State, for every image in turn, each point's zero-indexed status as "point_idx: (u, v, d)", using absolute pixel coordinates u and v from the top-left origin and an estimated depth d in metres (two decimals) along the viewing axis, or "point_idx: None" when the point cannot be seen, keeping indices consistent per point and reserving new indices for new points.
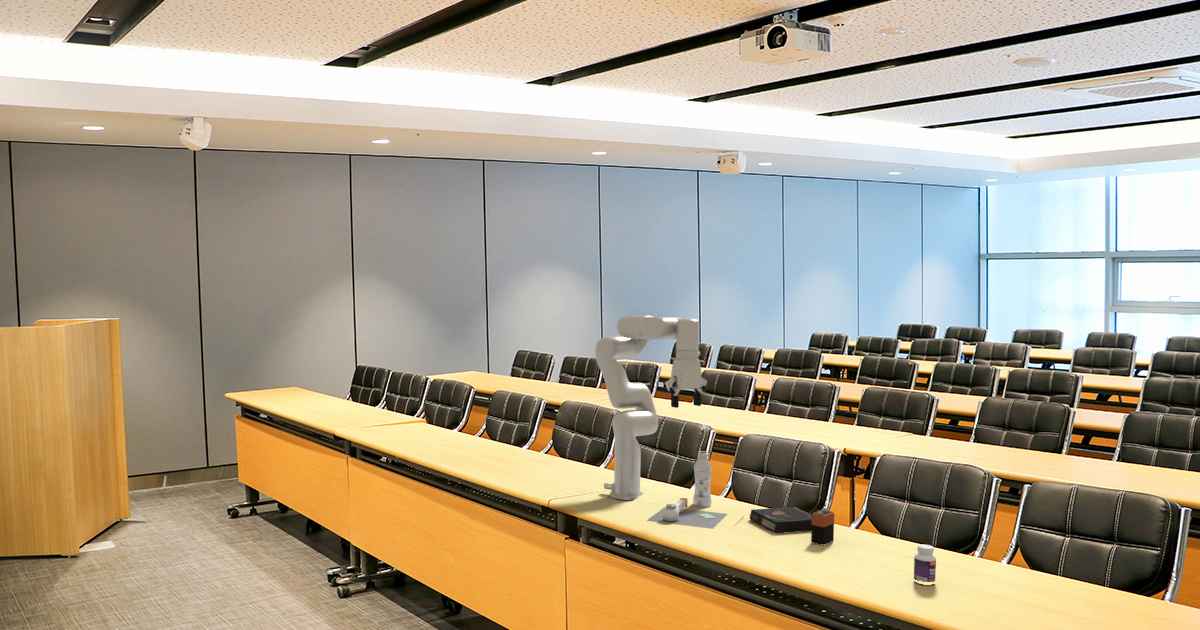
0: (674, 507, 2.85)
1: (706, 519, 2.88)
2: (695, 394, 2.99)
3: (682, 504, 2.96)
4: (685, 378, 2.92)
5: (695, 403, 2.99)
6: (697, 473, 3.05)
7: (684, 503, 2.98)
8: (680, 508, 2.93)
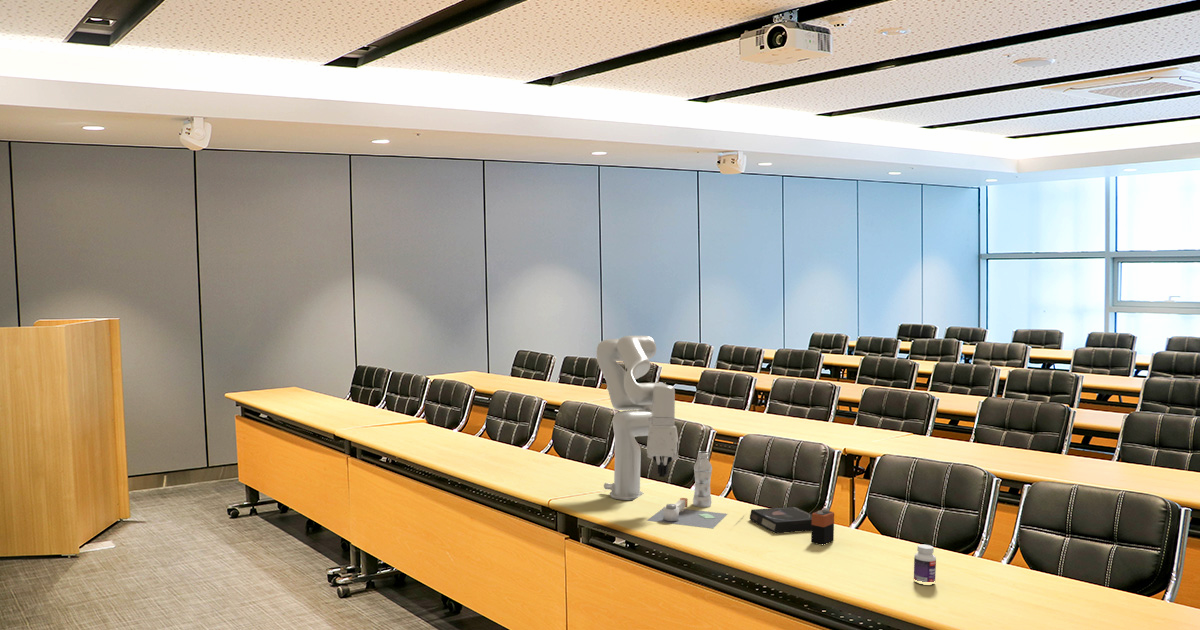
0: (674, 507, 2.85)
1: (706, 519, 2.88)
2: None
3: (682, 504, 2.96)
4: None
5: None
6: (697, 473, 3.05)
7: (684, 503, 2.98)
8: (680, 508, 2.93)
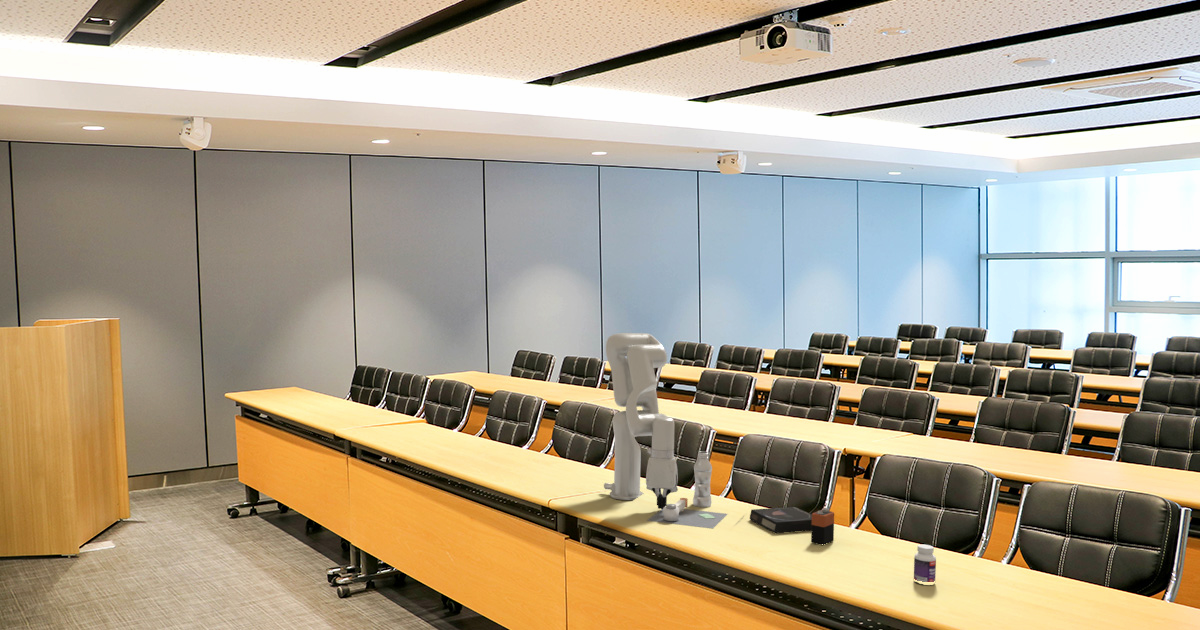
0: (674, 507, 2.85)
1: (706, 519, 2.88)
2: (660, 497, 2.98)
3: (682, 504, 2.96)
4: None
5: None
6: (697, 473, 3.05)
7: (684, 503, 2.98)
8: (680, 508, 2.93)
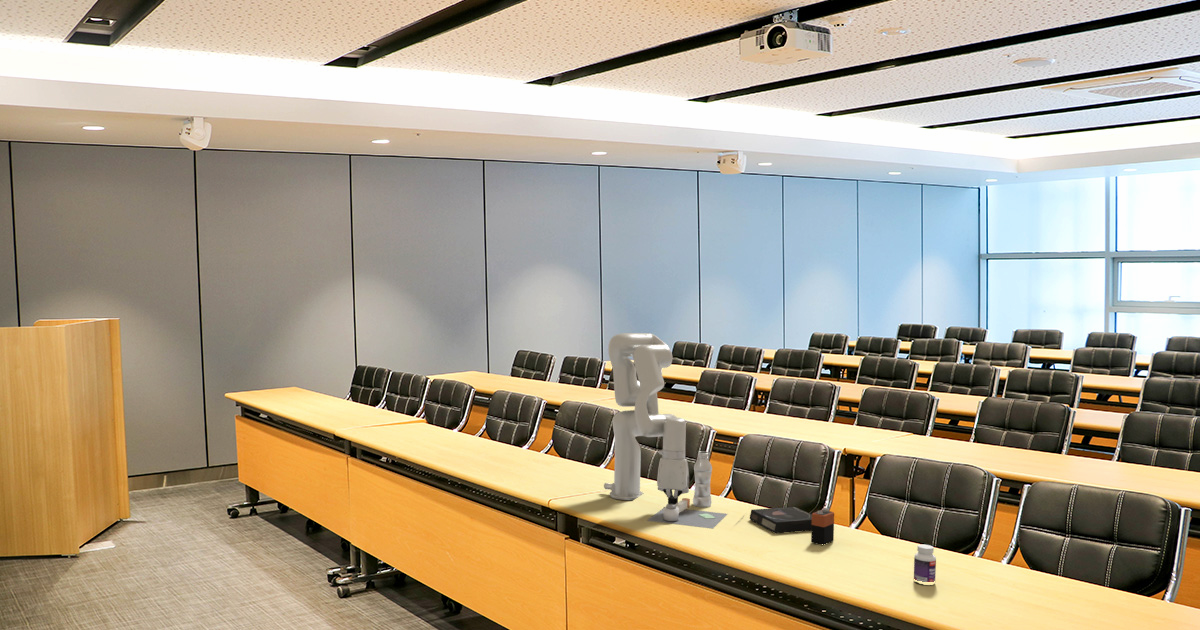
0: (674, 507, 2.85)
1: (706, 519, 2.88)
2: (672, 498, 2.96)
3: (684, 504, 2.95)
4: None
5: None
6: (697, 473, 3.05)
7: (686, 503, 2.97)
8: (681, 508, 2.93)
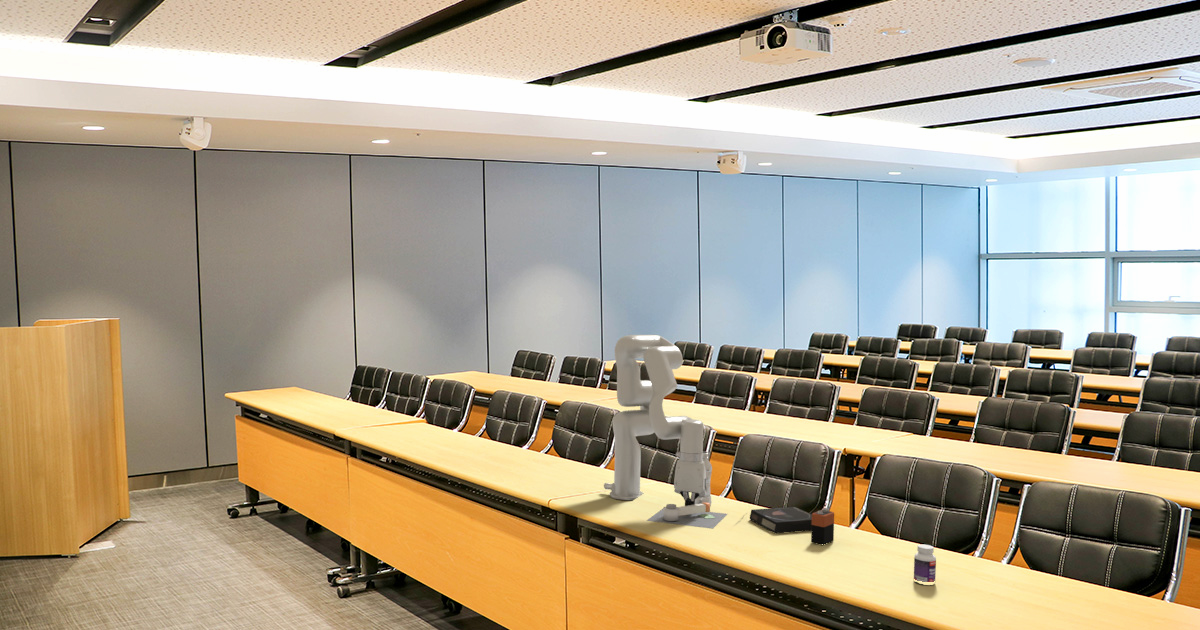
0: (671, 507, 2.85)
1: (706, 519, 2.88)
2: (688, 500, 2.94)
3: (697, 508, 2.91)
4: None
5: None
6: None
7: (702, 507, 2.92)
8: (691, 511, 2.90)
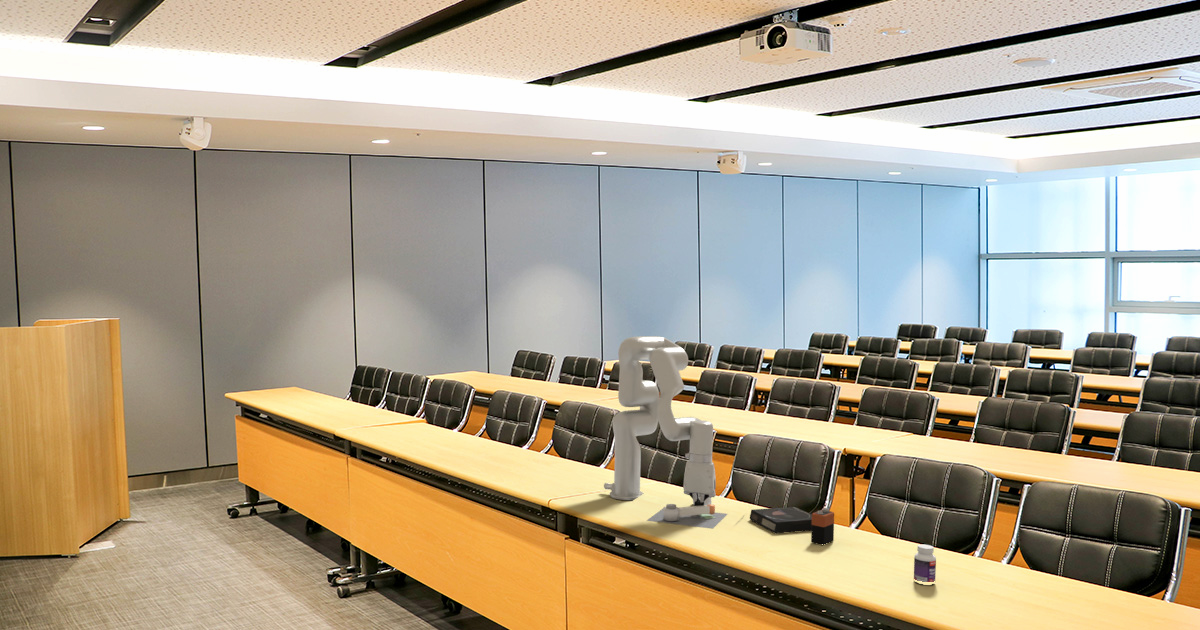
0: (670, 507, 2.85)
1: (706, 519, 2.88)
2: (698, 502, 2.93)
3: (700, 509, 2.89)
4: None
5: None
6: None
7: (706, 509, 2.90)
8: (693, 512, 2.88)
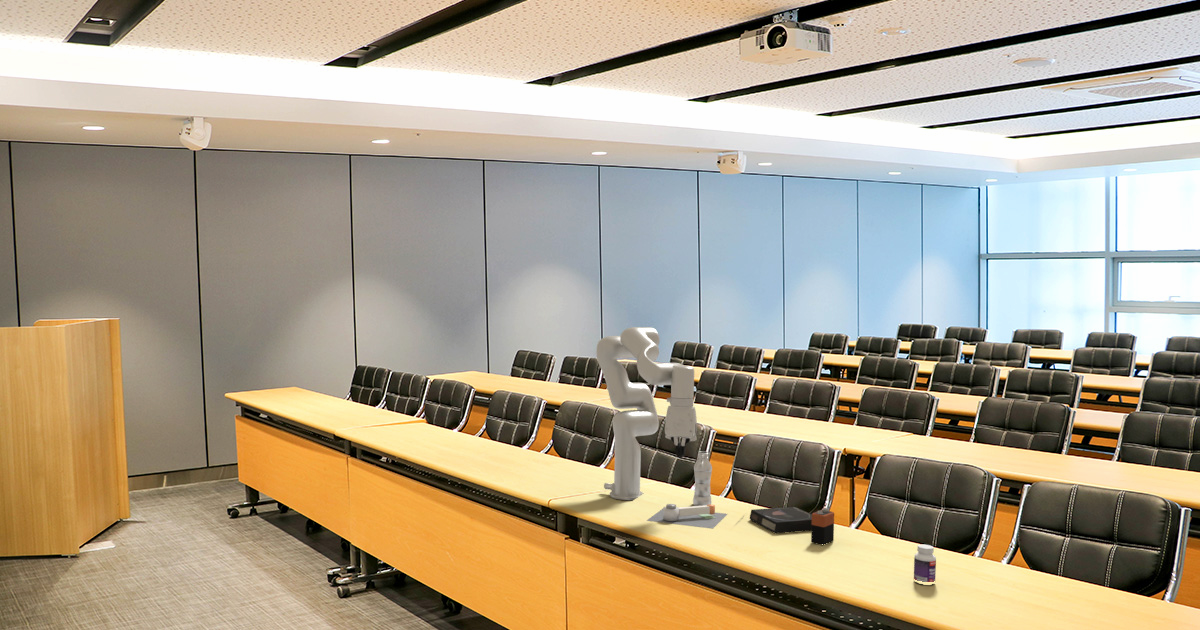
0: (670, 507, 2.85)
1: (706, 519, 2.88)
2: (679, 446, 2.95)
3: (700, 509, 2.89)
4: None
5: None
6: (697, 473, 3.05)
7: (706, 509, 2.90)
8: (693, 512, 2.88)
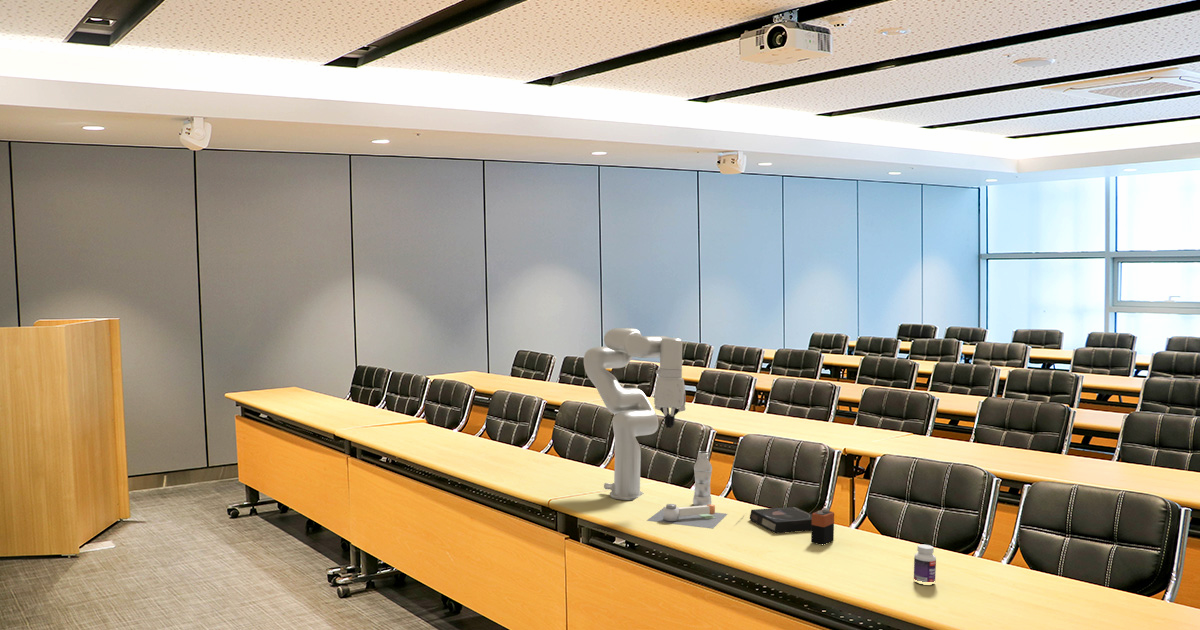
0: (670, 507, 2.85)
1: (706, 519, 2.88)
2: None
3: (700, 509, 2.89)
4: None
5: None
6: (697, 473, 3.05)
7: (706, 509, 2.90)
8: (693, 512, 2.88)
